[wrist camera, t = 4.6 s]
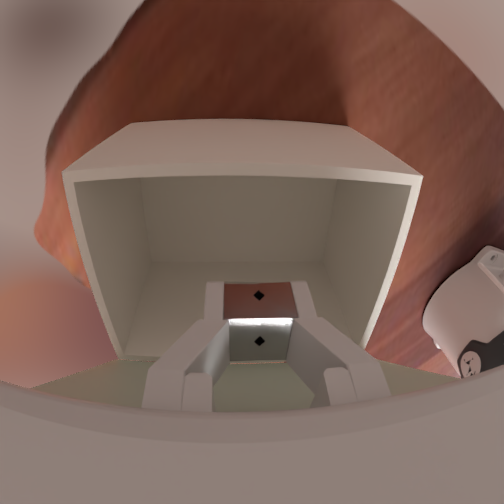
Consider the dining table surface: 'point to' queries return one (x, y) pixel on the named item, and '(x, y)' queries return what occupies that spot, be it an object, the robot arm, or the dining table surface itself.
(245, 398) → the lid flap
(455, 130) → the dining table surface
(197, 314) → the carton
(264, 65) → the dining table surface
